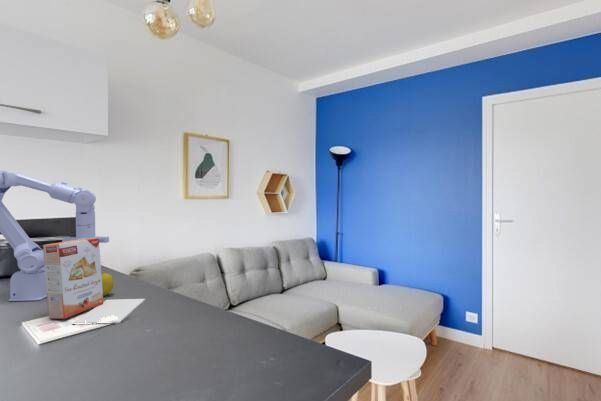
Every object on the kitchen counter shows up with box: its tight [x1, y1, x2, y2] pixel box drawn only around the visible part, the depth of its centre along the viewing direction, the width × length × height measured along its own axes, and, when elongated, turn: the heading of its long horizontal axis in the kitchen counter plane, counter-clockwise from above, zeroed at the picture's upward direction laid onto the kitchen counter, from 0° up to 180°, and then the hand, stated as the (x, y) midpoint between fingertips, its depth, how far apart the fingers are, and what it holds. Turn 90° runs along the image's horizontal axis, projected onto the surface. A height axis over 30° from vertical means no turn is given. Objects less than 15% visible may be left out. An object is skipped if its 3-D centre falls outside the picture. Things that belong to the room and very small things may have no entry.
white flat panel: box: [72, 298, 146, 324], centre depth 100 cm, size 12×20×1 cm, turn 7°
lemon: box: [101, 272, 115, 297], centre depth 115 cm, size 6×6×8 cm
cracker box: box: [42, 238, 104, 320], centre depth 99 cm, size 14×6×21 cm, turn 168°
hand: (86, 263), depth 118 cm, fingers closed
